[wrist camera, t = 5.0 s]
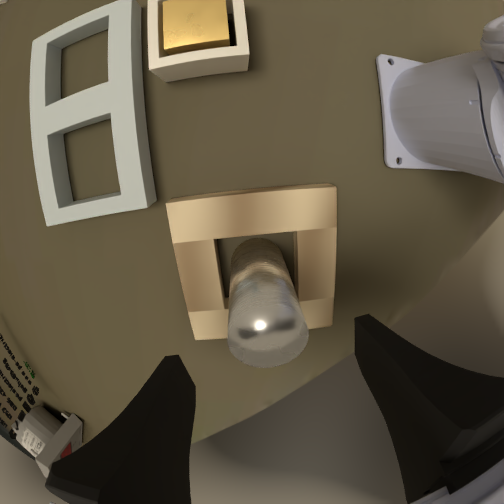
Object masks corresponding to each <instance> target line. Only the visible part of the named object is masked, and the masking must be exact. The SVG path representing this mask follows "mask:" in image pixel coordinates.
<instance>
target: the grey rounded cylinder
mask: <svg viewBox="0 0 504 504" xmlns="http://www.w3.org/2000/svg"><path fill="white" fill-rule="evenodd" d="M308 337H309V331H308V327H307V324H306V321H305V318H304V315H303V312H302V309H301V306H300V303H299V300H298V298H297V295H296V292H295V289H294V286H293V283H292V281H291V278H290V275H289V272H288V269H287V267H286V264H285V261H284V258H283V256H282V253H281V251H280V249H279V248H278V247H277V245H275V244H274V243H273V242H271V241H269V240H267V239H263V238H253V239H249V240H246V241H244V242H243V243H241V244H240V245H239V246H238V247H237V248H236V249H235V251H234V253H233V255H232V259H231V275H230V294H229V314H228V335H227V341H228V346H229V349H230V351H231V352H232V354H233V355H234V356H235V357H236V358H237V359H238V360H240V361H241V362H243V363H245V364H247V365H250V366H254V367H260V368H269V367H276V366H280V365H283V364H285V363H288V362H290V361H291V360H293V359H294V358H296V357H297V356H298V355H299V354H300V353H301V352H302V351H303V349H304V348H305V346H306V344H307V341H308Z"/></svg>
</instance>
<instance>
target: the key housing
mask: <svg viewBox="0 0 504 504" xmlns="http://www.w3.org/2000/svg"><path fill="white" fill-rule="evenodd" d="M164 1H168V0H148V58H149V70H150V71H151V72H153V73H154V74H155V75H157V76H158V77H159V78H161V79H162V80H163V81H165V82H171V81H176V80H181V79H187V78H193V77H199V76H206V75H213V74H221V73H231V72H241V71H248V63H249V55H250V54H249V44H248V35H247V26H246V18H245V9H244V1H243V0H226V10H227V14H233V23H234V33H235V43H236V46H230V47H221V48H213V49H205V50H199V51H192V52H187V53H181V54H176V55H171V56H169V55H168V53H167V52H166V51H165V50H164V36H163V2H164Z"/></svg>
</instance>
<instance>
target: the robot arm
mask: <svg viewBox="0 0 504 504" xmlns="http://www.w3.org/2000/svg"><path fill="white" fill-rule="evenodd" d="M480 45H481V47H482V49H483V50H478V51H473V52H469V53H464V54H460V55H456V56H451V57H447V58H444V59H440V60H436V61H432V62H429V63H425V64H424V63H421V62H417V61H413V60H408V59H404V58H399V57H395V56H389V55H384V54H381V55H379V56H377V58H376V64H377V71H378V78H379V86H380V95H381V105H382V118H383V134H384V160H385V164H386V165H387V166H388V167H391V168H411V169H435V170H451V171H463V172H466V173H470V174H474V175H477V176H481V177H484V178H487V179H491V180H494V181H497V182H500V183H503V184H504V15H502V16H500V17H498V18H496V19H494V20H492V21H491V22H489V23H488V24H486V25H485V27H484V29H483V35H482V38H481V40H480ZM388 60H390V61H391V63H392V65H390V64H389V63H388ZM397 158H399V163H398V164H397V163H396V159H397ZM355 356H356V359H357V361H358V364H359V367H360V369H361V372H362V375H363V377H364V379H365V381H366V383H367V385H368V387H369V388H370V390H371V392H372V394H373V396H374V398H375V400H376V402H377V404H378V406H379V408H380V410H381V412H382V414H383V416H384V419H385V421H386V424H387V427H388V430H389V432H390V435H391V438H392V441H393V445H394V448H395V452H396V455H397V459H398V462H399V466H400V470H401V474H402V479H403V484H404V489H405V495H406V500H407V503H408V504H504V378H501V377H494V376H489V375H485V374H481V373H477V372H473V371H470V370H466V369H464V368H460V367H458V366H455V365H452V364H450V363H448V362H445V361H443V360H441V359H439V358H437V357H434V356H432V355H430V354H428V353H426V352H425V351H423V350H421V349H420V348H418V347H416V346H414V345H413V344H411V343H410V342H408V341H407V340H405V339H404V338H402V337H400V336H399V335H397V334H396V333H395V332H393V331H392V330H390V329H389V328H388V327H386V326H385V325H383V324H382V323H381V322H379V321H378V320H377V319H375V318H374V317H372V316H371V315H369V314H366V315H363V316H359V317H356V318H355ZM195 407H196V386H195V384H194V383H193V381H192V379H191V377H190V375H189V374H188V372H187V370H186V368H185V366H184V364H183V362H182V360H181V359H180V357H179V355H172V356H165V357H164V359H163V360H162V361H161V363H160V364H159V365H158V367H157V368H156V369H155V371H154V372H153V374H152V375H151V376H150V378H149V379H148V380H147V382H146V383H145V384H144V386H143V387H142V388H141V390H140V391H139V392H138V394H137V395H136V396H135V397H134V398H133V400H132V401H131V402H130V403H129V404H128V406H127V407H126V408H125V409H124V410H123V411H122V413H121V414H120V415H119V416H118V417H117V418H116V419H115V420H114V421H113V422H112V423H111V424H110V425H109V426H108V427H106V428H105V429H104V430H103V431H102V432H100V433H99V434H98V435H97V436H96V437H94V438H93V439H92V440H91V441H89V442H88V443H86V444H85V445H84V446H82V447H81V448H79V449H77V450H76V451H74V452H73V453H71V454H69V455H67V456H65V457H63V458H61V459H60V460H58V461H56V462H53V463H52V466H51V469H50V472H49V474H48V477H47V481H46V483H45V487H46V488H47V489H48V490H49V491H50V492H51V493H53V494H54V495H56V496H58V497H59V498H61V499H62V500H64V501H66V502H68V503H69V504H191V497H190V480H189V454H190V445H191V437H192V430H193V423H194V415H195ZM49 504H55V503H53V502H50V503H49Z"/></svg>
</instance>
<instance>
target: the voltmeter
mask: <svg viewBox="0 0 504 504" xmlns="http://www.w3.org/2000/svg"><path fill="white" fill-rule="evenodd" d="M0 334H1V333H0ZM0 336H1V337H0V339H2V338H3V337H2V335H0ZM3 340H4V339H2V340H1V341H2V342H3ZM5 343H6V342H3V344H5ZM6 346H7V343H6V344H5V346H4V347H5V349H6V350H8V353H9V354H11V355H12V354H13V353H11V350H9V347H8V346H7V348H6ZM11 355H10V356H11ZM11 358H12V359H13V360H14V359H15V357H14V355H13V356H11ZM14 361H15V360H14ZM6 362H7V360H6V358H4V360H3V363H4V364H5V367H6V369H7V370H11V369H10V367H8V366H9V364H8V363H6ZM26 364H27V362H26V363H25V366H26V367H27V365H28V366H29V364H27V365H26ZM7 365H8V366H7ZM15 365H16V366H18V365H19V363H18V362H16V364H15ZM21 368H22V366H20V365H19V366H18V369H19V370H20V369H21ZM27 369H28V368H27ZM30 369H31V368H30ZM28 370H29V369H28ZM32 371H33V370H32ZM29 372H30V370H29ZM32 373H33V374H32ZM1 374H2V375H1ZM10 374H11V377H12V378H13V379H15V378H16V379H17V381H18V380H19V379H18V378H17V377H16V374H14V372H13V371H12V370H11V371H10ZM30 374H31V376H32V378H33V379H34V378H35V376H34V374H35V373H34V372H30ZM0 375H1V376H2V378H3V379H4V378H5V376H4V377H3V373H2V371H1V370H0ZM22 375H23V376H24V375H25V373H24V371H23V372H22ZM16 379H15V380H16ZM25 379H27V380H28V377H27V376H26V377H25ZM6 381H7V382H8V383H7V382H6ZM4 382H5V383H6V384H7V385H8V384H9V385H8V387H9V388H11V387H12V386H11V384H10V383H9V381H8V380H7V378H6V379H5V380H4ZM19 383H20V384H19ZM28 383H29V384H30V385H31V381H30V380H29V381H28ZM20 385H21V386H20ZM18 387H21V389H22V388H23V389H22V390H23V392H24V393H26V391H27V389H26V387H25V388H24V386H23V385H22V384H21V382H20V381H18ZM34 388H35V389H34ZM34 388H33V389H32V391H33V390H34V391H33V394H34V393H35V394H36V396H37V395H38V394H39V392H38V391H39V388H37V387H35V386H34ZM0 389H1V387H0ZM12 389H13V387H12V388H11V390H12ZM36 389H37V390H36ZM11 390H10V391H11ZM36 391H37V392H38V393H37V392H36ZM1 392H3V395H2V393H1ZM12 392H13V393H14V394H15V392H16V391H15V389H13V390H12ZM0 394H1V395H2V396H6V395H5V392H4V391H3V390H2V389H1V390H0ZM35 394H34V395H35ZM29 396H30V398H31V400H30V398H29ZM16 397H17V398H18V397H19V398H18V399H19V401H21V400H22V398H23V397H20V396H19V394H18V393H17V392H16ZM7 400H8V401H7V402H8V403H10V404H9V405H10V406H11V407H12V406H13V407H12V408H13V409H14V407H15V409H14V411H16V409H17V407H16V406H15V405H14V404H13V402H12V401H11V400H10V398H8V399H7ZM27 400H28V402H29V403H30V404H31V405H34V403H35V401H34V398H33V396H32V394H31V395H29V394H28V395H27ZM33 401H34V402H33ZM0 406H1V403H0ZM22 406H23V407H24V409H25V410H26V411H27V412H28V413H27V414H25V413H24V412H23V410H21V412H20V414H19V416H18V419H19V420H20V421H21V422H20V421H19V420H18V419H17V420H16V421H15V423H14V424H13V425H12V427H13V430H12V429H11V430H10V432H9V434H10V437H11V438H12V439H17V440H18V442H19V443H20V444H21V445H22V446H23V447H24V448H26V449H27V450H28V451H29V452H30V453H31V454H32V455H33V456H35V457H36V458H35V460H36V462H37V463H38V465H39V467H40V469H41V471H42V473H43V475H44V476H45V477H46V478H47V477H48V474H49V472H50V469H51V466H52V463H53V462H56V461H58V460H60V459H61V458H63V457H65V456H67V455H69V454H71V453H73V452H74V451H76V450H77V449H79V448H80V446H81V445H82V422H81V421H80V420H79V419H78V418H77V417H76V415H75V414H74V413H72V414H71V416H70V417H68V416H66V415H65V414H64V413H63V412H62V413H61V414H62V415H63V416H64V417H65V418H67V420H66V422H65V423H64V424H63V423H61V422H60V421H59V420H58V419H56V418H55V417H54V416H53V415H52V414H51V413H49V412H48V411H47V410H46V409H45V408H44V407H42V406H37V407H35V408H33V409H31V408H30V406H29V405H28V404H27V403H26V401H25V402H24V403H23V405H22ZM4 409H5V410H6V408H3V409H2V411H3V413H6V416H7V417H8V418H9V416H10V418H9V419H10V420H11V418H12V416H11V415H10V414H8V413H9V412H8V411H7V410H6V412H4V411H5V410H4ZM7 412H8V413H7ZM0 420H1V418H0ZM3 422H4V421H3V420H1V422H0V423H1V424H2V425H3V426H4V425H6V426H5V428H6V427H7V424H6V423H4V424H3ZM13 431H15V433H14V434H13Z"/></svg>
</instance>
